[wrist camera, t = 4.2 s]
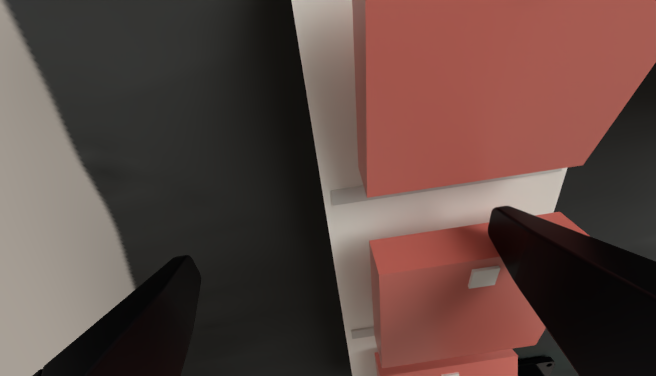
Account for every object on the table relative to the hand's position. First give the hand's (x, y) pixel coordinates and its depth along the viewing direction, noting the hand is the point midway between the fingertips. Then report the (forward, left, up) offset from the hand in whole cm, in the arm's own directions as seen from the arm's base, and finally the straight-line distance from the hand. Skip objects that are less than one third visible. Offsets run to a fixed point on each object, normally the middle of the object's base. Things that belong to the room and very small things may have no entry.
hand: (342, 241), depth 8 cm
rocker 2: (-4, -4, -1) cm, 6 cm away
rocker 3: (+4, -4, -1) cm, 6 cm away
